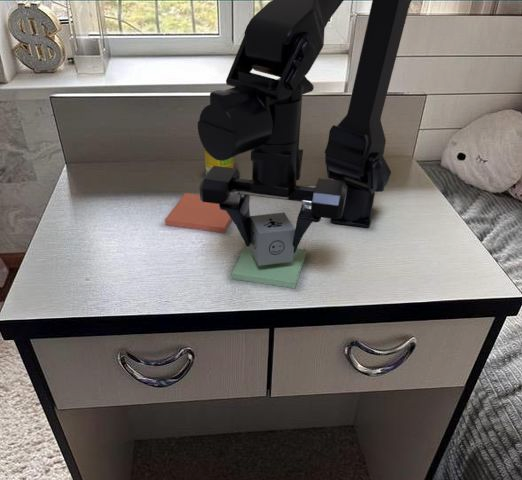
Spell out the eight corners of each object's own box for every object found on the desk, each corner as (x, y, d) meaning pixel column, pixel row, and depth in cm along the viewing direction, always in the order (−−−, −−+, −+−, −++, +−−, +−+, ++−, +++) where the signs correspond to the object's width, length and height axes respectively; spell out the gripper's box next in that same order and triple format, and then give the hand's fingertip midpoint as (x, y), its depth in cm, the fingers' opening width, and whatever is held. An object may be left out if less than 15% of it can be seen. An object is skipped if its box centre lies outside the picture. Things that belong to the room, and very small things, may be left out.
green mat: (305, 255, 79) (306, 249, 78) (295, 288, 72) (295, 282, 71) (247, 246, 80) (247, 241, 79) (232, 278, 73) (231, 272, 73)
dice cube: (258, 265, 72) (259, 233, 69) (249, 247, 76) (250, 216, 73) (292, 261, 73) (295, 229, 70) (282, 243, 77) (284, 212, 74)
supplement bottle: (221, 183, 96) (220, 129, 90) (199, 175, 99) (196, 122, 92) (239, 174, 100) (239, 121, 93) (218, 166, 102) (216, 115, 96)
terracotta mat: (240, 205, 90) (240, 200, 89) (224, 233, 83) (224, 227, 82) (185, 198, 92) (185, 192, 91) (165, 225, 84) (164, 219, 84)
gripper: (358, 122, 68) (343, 229, 78) (220, 108, 71) (223, 213, 81) (350, 154, 60) (334, 269, 70) (194, 137, 63) (201, 250, 73)
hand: (271, 248), depth 74 cm, fingers closed on dice cube, 6 cm apart
